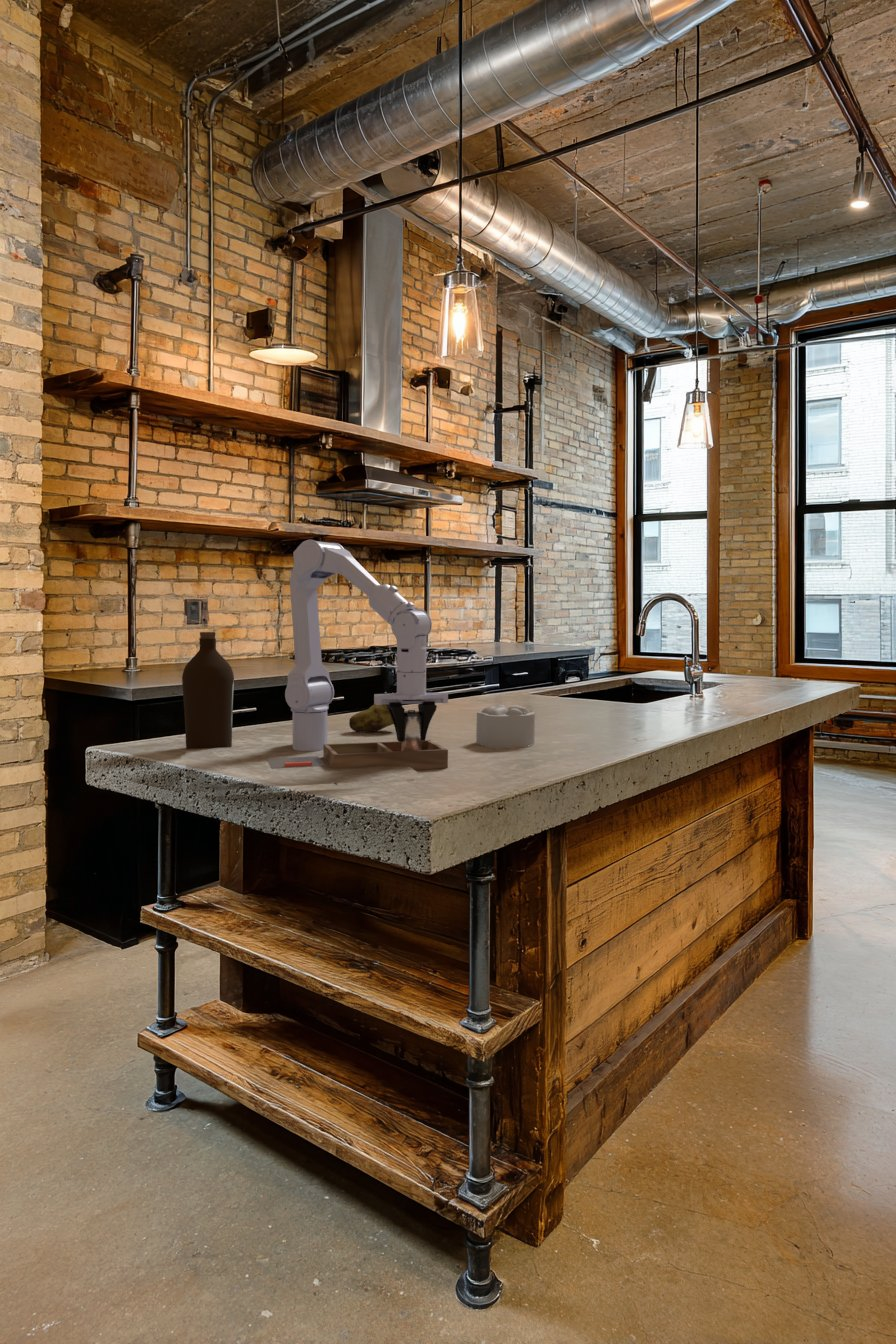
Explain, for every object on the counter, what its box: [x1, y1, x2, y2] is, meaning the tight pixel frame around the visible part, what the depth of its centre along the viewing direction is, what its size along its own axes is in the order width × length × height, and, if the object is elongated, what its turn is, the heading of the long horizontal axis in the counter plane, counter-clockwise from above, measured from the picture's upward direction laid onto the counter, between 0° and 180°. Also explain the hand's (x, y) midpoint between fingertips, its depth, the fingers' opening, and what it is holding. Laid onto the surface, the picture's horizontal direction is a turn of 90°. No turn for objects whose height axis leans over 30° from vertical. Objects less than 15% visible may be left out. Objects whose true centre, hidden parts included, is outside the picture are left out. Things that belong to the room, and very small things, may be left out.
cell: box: [401, 709, 422, 751], centre depth 164 cm, size 4×4×8 cm
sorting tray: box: [322, 739, 449, 770], centre depth 163 cm, size 12×22×4 cm, turn 108°
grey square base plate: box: [266, 755, 327, 769], centre depth 160 cm, size 10×10×2 cm
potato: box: [348, 703, 394, 733], centre depth 205 cm, size 8×13×8 cm, turn 90°
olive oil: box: [181, 631, 235, 750], centre depth 178 cm, size 11×11×25 cm
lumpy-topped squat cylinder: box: [475, 704, 536, 749], centre depth 189 cm, size 10×13×9 cm
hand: (411, 740), depth 164 cm, fingers closed on cell, 4 cm apart
